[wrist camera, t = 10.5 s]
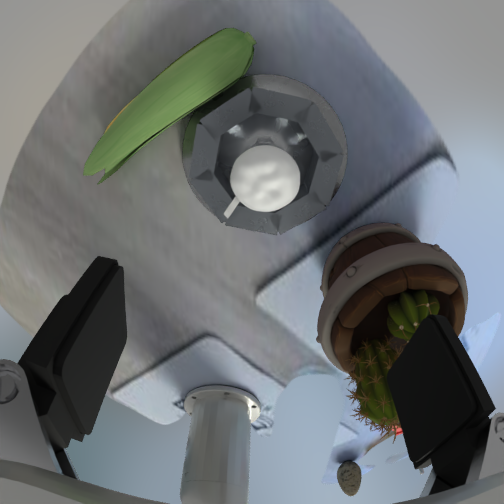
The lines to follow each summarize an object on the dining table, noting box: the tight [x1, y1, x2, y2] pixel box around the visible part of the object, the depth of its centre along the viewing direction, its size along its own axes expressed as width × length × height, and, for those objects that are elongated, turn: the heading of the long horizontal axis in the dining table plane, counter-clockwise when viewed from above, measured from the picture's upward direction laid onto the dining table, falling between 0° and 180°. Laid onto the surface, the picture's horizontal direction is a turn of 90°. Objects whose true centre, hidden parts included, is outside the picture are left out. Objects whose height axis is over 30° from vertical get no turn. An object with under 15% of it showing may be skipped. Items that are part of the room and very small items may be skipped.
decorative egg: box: [337, 461, 361, 496], centre depth 58 cm, size 6×6×10 cm
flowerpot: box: [316, 223, 468, 441], centre depth 25 cm, size 14×15×20 cm
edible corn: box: [83, 28, 256, 185], centre depth 24 cm, size 5×20×5 cm
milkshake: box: [223, 137, 300, 219], centre depth 23 cm, size 4×5×10 cm
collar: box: [182, 74, 347, 235], centre depth 26 cm, size 15×15×4 cm
